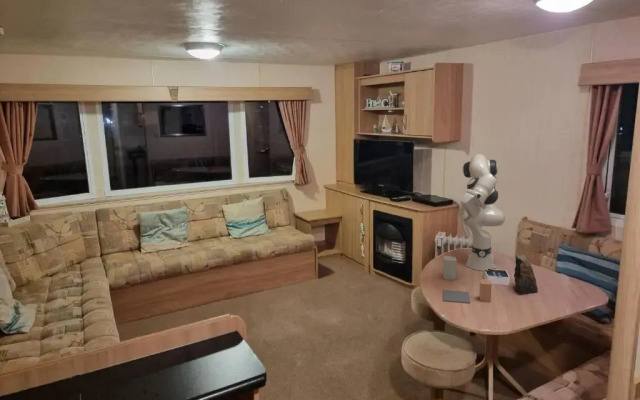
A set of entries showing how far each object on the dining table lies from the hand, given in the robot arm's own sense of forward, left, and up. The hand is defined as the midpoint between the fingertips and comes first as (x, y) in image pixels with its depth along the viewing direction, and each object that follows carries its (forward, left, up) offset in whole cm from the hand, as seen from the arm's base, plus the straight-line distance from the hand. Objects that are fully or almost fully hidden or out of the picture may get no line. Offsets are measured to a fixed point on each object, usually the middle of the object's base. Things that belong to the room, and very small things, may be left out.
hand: (462, 218), depth 240 cm
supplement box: (-19, -5, -43) cm, 48 cm away
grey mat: (+9, -2, -43) cm, 44 cm away
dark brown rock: (-7, +36, -43) cm, 57 cm away
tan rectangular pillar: (+9, +13, -43) cm, 46 cm away
